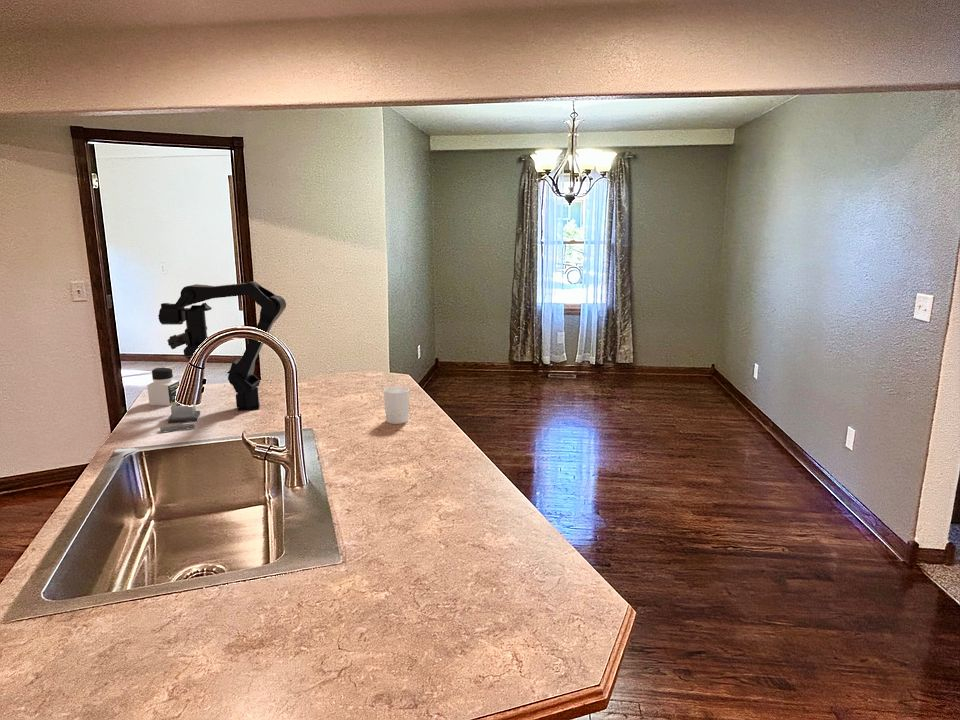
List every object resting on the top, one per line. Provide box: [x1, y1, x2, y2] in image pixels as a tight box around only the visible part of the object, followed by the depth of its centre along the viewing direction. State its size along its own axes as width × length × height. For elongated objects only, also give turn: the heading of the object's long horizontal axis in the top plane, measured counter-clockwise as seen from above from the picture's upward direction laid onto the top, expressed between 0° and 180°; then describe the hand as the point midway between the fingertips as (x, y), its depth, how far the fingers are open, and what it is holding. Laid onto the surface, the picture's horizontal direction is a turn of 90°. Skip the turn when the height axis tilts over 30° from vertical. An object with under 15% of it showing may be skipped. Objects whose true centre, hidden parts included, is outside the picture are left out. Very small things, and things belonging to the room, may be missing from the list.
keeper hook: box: [167, 405, 201, 424], centre depth 186 cm, size 8×8×5 cm
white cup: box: [383, 385, 410, 425], centre depth 185 cm, size 8×8×10 cm
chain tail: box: [159, 422, 195, 433], centre depth 176 cm, size 9×2×1 cm, turn 116°
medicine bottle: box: [146, 366, 180, 407], centre depth 202 cm, size 7×7×12 cm
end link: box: [170, 402, 197, 419], centre depth 186 cm, size 6×6×4 cm
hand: (200, 372), depth 195 cm, fingers open, 9 cm apart
